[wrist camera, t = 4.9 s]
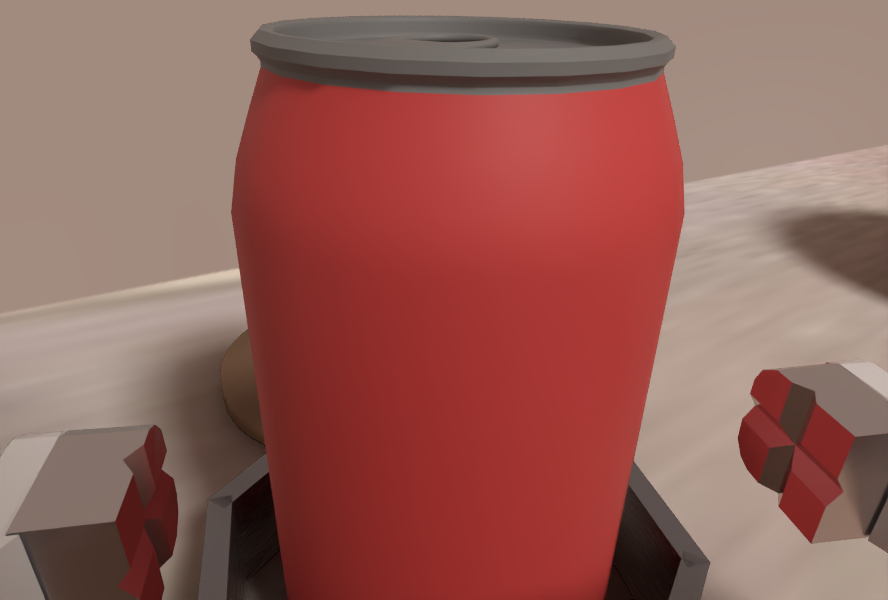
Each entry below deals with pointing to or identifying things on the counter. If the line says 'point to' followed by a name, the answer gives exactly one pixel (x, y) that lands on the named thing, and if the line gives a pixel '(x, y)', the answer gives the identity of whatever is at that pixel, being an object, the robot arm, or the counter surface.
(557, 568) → the beer can
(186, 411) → the counter surface
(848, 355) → the counter surface
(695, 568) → the can collar
